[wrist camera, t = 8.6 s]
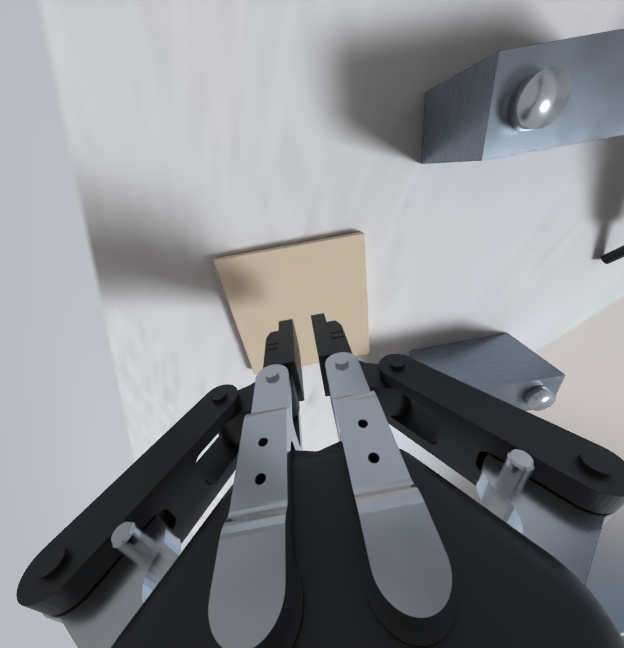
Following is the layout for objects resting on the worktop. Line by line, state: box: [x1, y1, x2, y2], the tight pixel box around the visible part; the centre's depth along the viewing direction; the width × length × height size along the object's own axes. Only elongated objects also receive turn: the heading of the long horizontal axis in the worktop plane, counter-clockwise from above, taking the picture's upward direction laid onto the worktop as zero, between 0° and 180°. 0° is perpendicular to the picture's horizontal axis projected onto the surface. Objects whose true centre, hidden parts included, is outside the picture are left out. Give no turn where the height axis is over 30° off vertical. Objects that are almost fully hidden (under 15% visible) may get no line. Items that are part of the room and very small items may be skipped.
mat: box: [213, 232, 370, 375], centre depth 18 cm, size 9×9×1 cm
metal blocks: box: [410, 29, 624, 411], centre depth 15 cm, size 19×8×6 cm, turn 9°
